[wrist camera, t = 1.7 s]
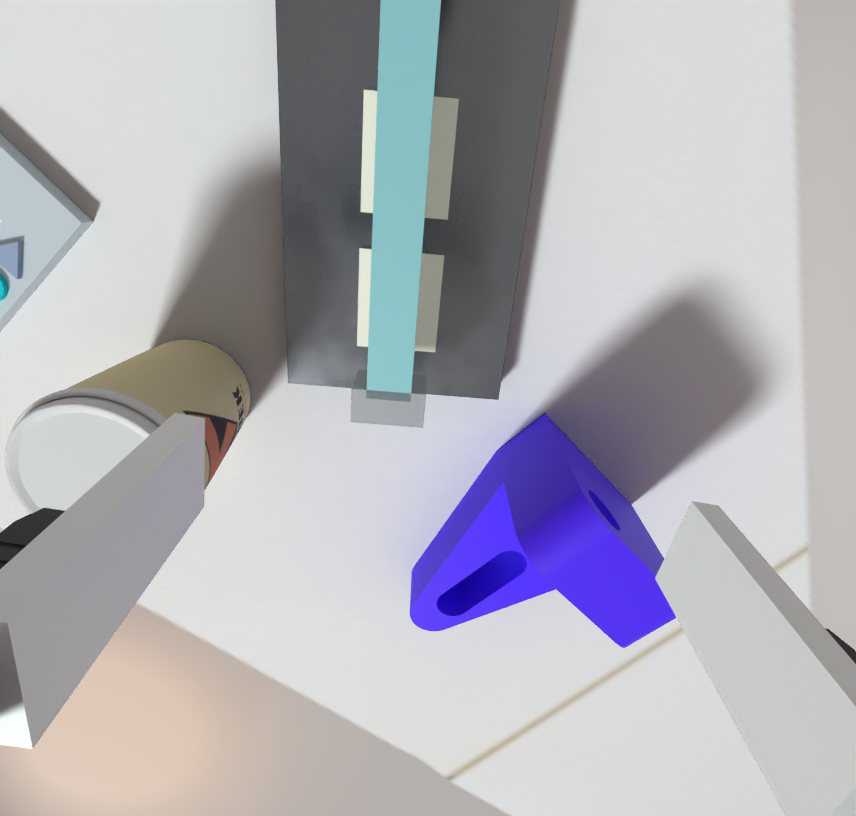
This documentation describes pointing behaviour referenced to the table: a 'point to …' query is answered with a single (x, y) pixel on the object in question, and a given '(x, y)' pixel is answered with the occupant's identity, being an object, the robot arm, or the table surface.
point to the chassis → (454, 238)
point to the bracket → (542, 543)
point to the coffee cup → (123, 420)
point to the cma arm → (399, 213)
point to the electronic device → (31, 228)
